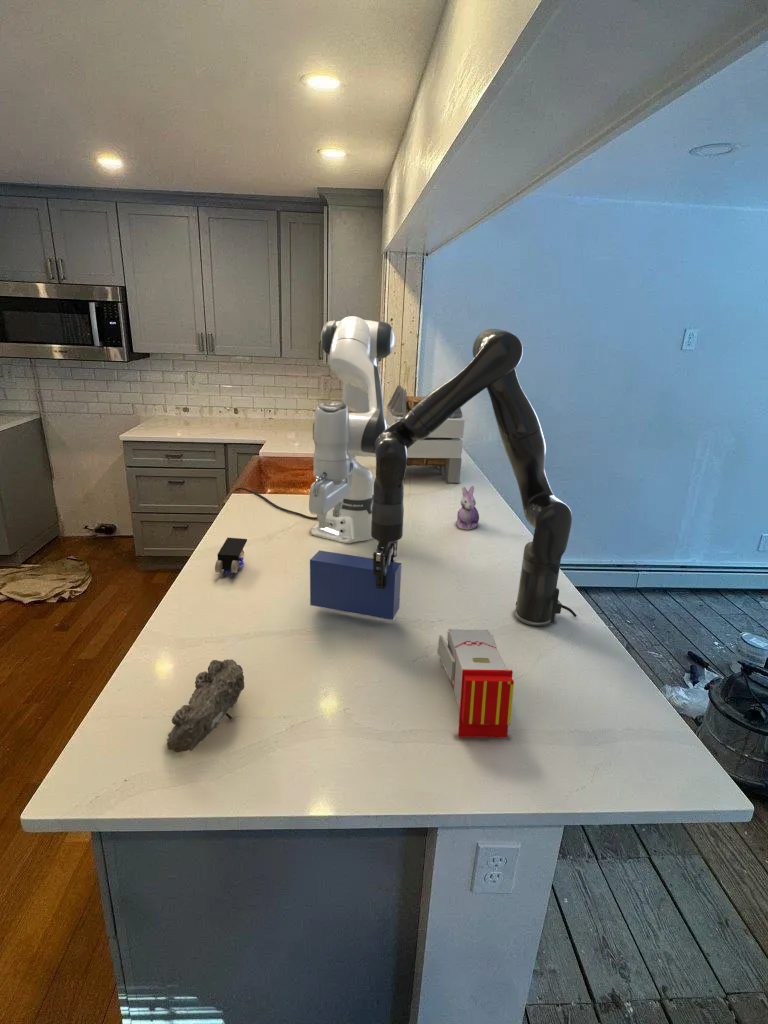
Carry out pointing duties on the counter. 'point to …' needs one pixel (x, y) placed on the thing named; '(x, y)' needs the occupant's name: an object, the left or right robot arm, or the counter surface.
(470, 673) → the toy
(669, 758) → the counter surface
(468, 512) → the figurine
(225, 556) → the figurine character
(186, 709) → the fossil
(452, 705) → the counter surface
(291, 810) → the counter surface
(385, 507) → the right robot arm
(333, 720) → the counter surface
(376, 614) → the box
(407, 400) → the grey boxy piece
